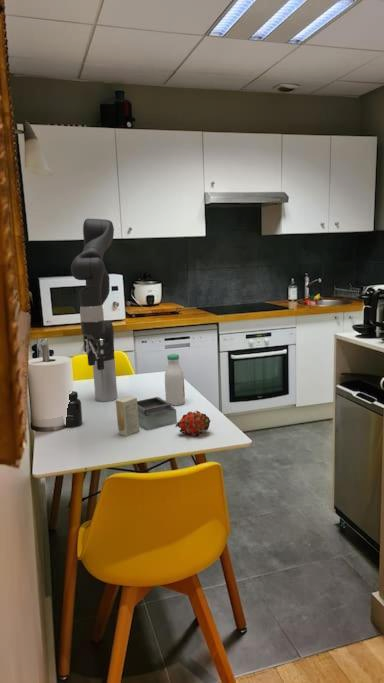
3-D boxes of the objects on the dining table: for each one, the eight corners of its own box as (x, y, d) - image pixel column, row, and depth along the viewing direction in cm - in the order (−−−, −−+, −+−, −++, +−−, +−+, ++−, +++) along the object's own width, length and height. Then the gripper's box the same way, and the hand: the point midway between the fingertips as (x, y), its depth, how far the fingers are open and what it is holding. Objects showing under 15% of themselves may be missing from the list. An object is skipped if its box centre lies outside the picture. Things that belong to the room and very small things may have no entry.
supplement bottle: (66, 429, 178) (63, 396, 175) (61, 423, 184) (58, 392, 181) (84, 425, 181) (82, 393, 178) (79, 420, 187) (77, 389, 184)
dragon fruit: (214, 437, 168) (179, 445, 168) (208, 417, 174) (175, 424, 173) (212, 423, 162) (176, 431, 161) (207, 403, 168) (172, 410, 167)
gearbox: (127, 417, 187) (126, 401, 186) (156, 411, 193) (155, 395, 192) (146, 430, 173) (145, 412, 172) (176, 422, 179) (175, 405, 178)
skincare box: (132, 428, 176) (130, 395, 173) (140, 431, 173) (137, 397, 170) (117, 433, 171) (114, 399, 169) (125, 436, 168) (122, 402, 166)
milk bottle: (182, 406, 197) (180, 357, 194) (163, 405, 199) (161, 357, 195) (186, 400, 205) (184, 352, 201) (168, 399, 206) (166, 352, 203)
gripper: (74, 318, 168) (78, 365, 171) (88, 322, 156) (93, 373, 159) (95, 316, 172) (99, 362, 175) (111, 320, 160) (115, 369, 163)
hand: (96, 367), depth 167 cm, fingers open, 8 cm apart
